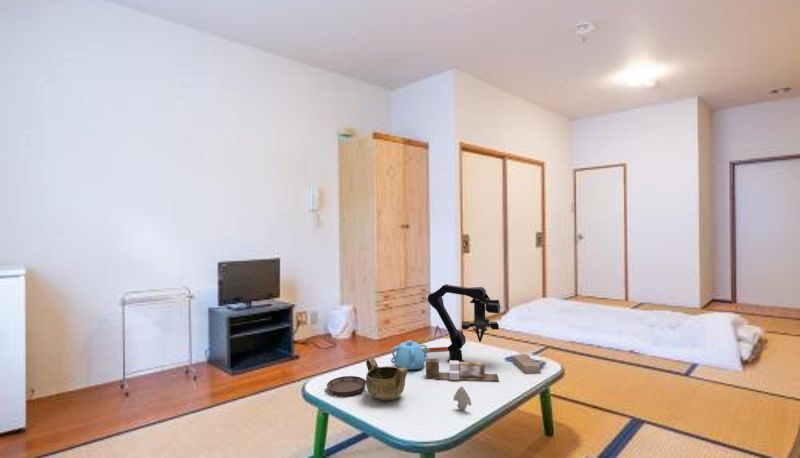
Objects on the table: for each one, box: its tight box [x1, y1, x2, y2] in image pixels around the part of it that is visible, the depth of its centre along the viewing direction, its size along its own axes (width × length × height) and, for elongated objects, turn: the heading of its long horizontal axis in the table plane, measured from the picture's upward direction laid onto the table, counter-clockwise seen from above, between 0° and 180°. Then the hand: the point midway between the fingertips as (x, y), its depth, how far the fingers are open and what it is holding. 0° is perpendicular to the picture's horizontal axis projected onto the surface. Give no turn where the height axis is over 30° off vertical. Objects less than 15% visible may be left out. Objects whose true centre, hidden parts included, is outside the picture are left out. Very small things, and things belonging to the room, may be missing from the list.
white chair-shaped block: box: [448, 361, 459, 381], centre depth 204 cm, size 4×9×6 cm, turn 173°
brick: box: [512, 354, 541, 375], centre depth 215 cm, size 17×8×5 cm, turn 7°
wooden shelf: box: [425, 357, 500, 383], centre depth 204 cm, size 34×8×8 cm, turn 83°
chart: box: [417, 325, 450, 354], centre depth 245 cm, size 30×3×15 cm, turn 99°
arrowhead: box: [453, 385, 472, 411], centre depth 169 cm, size 8×3×10 cm, turn 54°
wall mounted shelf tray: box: [459, 361, 486, 377], centre depth 203 cm, size 12×4×6 cm, turn 83°
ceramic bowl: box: [365, 357, 408, 402], centre depth 182 cm, size 22×17×15 cm
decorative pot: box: [390, 340, 429, 371], centre depth 220 cm, size 16×16×14 cm
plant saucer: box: [326, 375, 366, 397], centre depth 192 cm, size 18×18×3 cm
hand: (480, 341), depth 221 cm, fingers closed
